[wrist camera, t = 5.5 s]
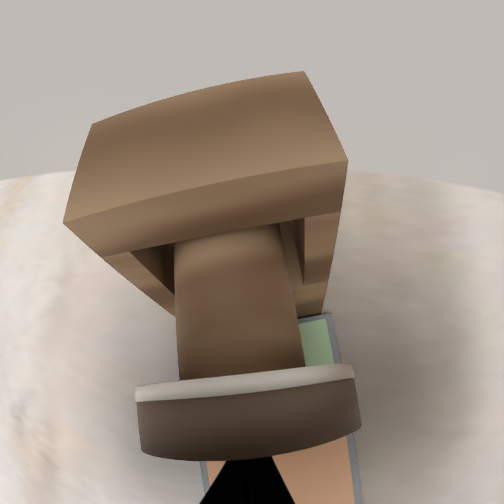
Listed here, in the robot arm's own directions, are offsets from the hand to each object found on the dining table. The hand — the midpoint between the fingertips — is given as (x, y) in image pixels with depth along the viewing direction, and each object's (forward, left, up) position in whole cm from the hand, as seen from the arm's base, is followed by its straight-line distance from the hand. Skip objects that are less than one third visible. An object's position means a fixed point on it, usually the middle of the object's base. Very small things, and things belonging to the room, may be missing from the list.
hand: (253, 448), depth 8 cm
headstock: (+6, +5, -7) cm, 11 cm away
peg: (+3, +3, -3) cm, 5 cm away
